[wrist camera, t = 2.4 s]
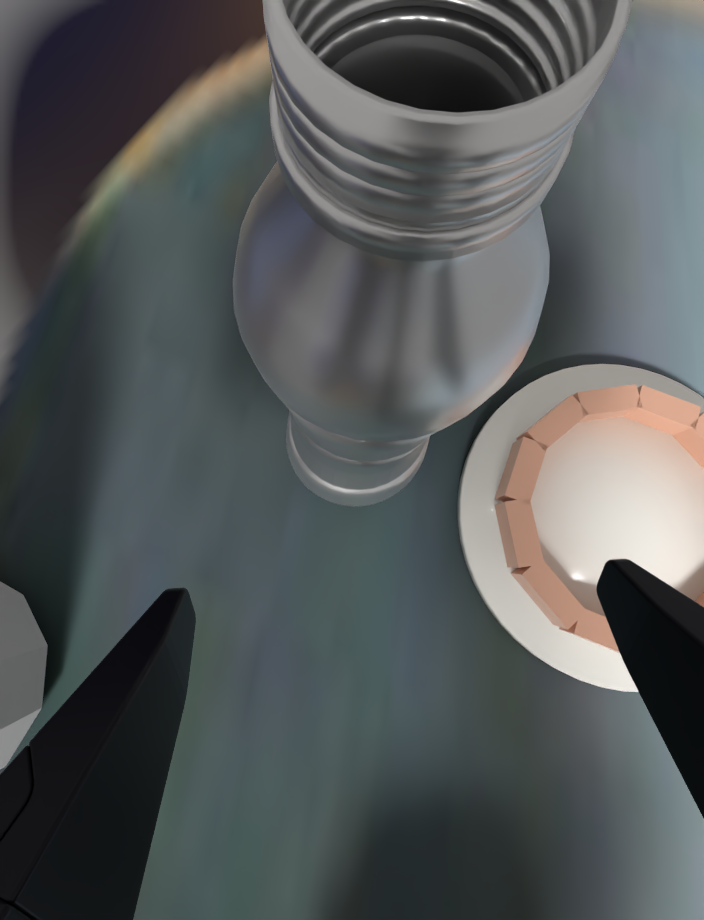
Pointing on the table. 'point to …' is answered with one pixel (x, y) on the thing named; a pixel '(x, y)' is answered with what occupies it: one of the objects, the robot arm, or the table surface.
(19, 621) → the jar
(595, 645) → the white orange plate
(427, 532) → the table surface
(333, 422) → the plastic bottle
